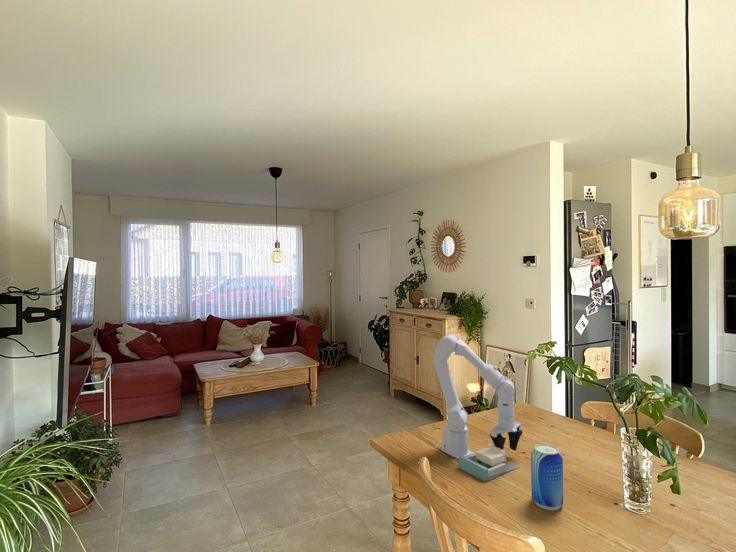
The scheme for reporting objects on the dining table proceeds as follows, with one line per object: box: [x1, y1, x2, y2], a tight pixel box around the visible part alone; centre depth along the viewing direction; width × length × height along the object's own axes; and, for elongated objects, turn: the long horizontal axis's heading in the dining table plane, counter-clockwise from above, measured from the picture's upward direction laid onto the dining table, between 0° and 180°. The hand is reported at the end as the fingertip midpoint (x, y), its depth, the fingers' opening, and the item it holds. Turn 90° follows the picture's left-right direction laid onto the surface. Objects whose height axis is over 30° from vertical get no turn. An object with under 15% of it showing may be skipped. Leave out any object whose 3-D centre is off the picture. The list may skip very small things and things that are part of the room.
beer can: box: [530, 443, 564, 511], centre depth 116 cm, size 8×8×16 cm
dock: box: [458, 452, 521, 483], centre depth 138 cm, size 12×18×5 cm
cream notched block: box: [475, 443, 507, 468], centre depth 138 cm, size 7×7×5 cm
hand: (506, 452), depth 143 cm, fingers open, 7 cm apart
